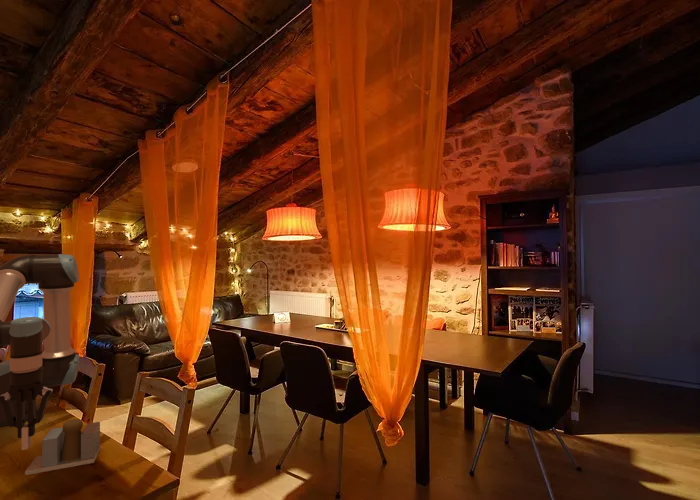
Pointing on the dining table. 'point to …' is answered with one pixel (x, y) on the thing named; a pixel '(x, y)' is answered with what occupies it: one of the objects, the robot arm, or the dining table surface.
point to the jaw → (52, 447)
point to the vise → (88, 452)
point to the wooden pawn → (72, 440)
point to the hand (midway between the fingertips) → (26, 447)
